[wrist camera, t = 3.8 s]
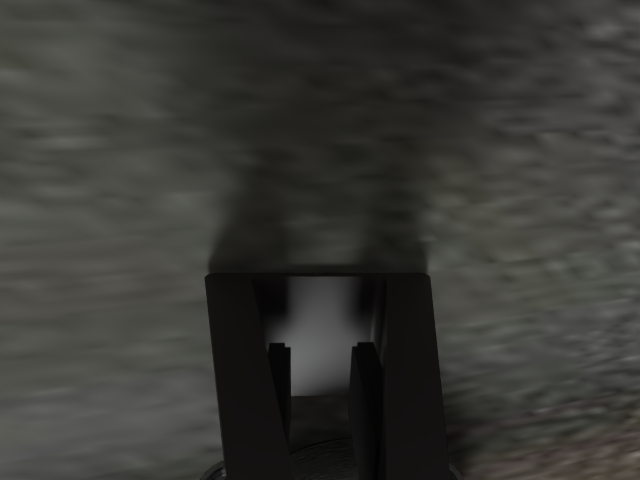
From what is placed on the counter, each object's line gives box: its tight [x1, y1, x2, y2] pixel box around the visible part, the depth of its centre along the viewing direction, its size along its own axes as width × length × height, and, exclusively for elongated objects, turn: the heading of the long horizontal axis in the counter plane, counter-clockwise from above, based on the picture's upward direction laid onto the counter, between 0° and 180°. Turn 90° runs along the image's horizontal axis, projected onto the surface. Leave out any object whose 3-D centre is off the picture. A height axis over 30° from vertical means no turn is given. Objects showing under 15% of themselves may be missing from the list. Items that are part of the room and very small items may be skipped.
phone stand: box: [205, 273, 451, 480], centre depth 8 cm, size 9×6×12 cm, turn 89°
